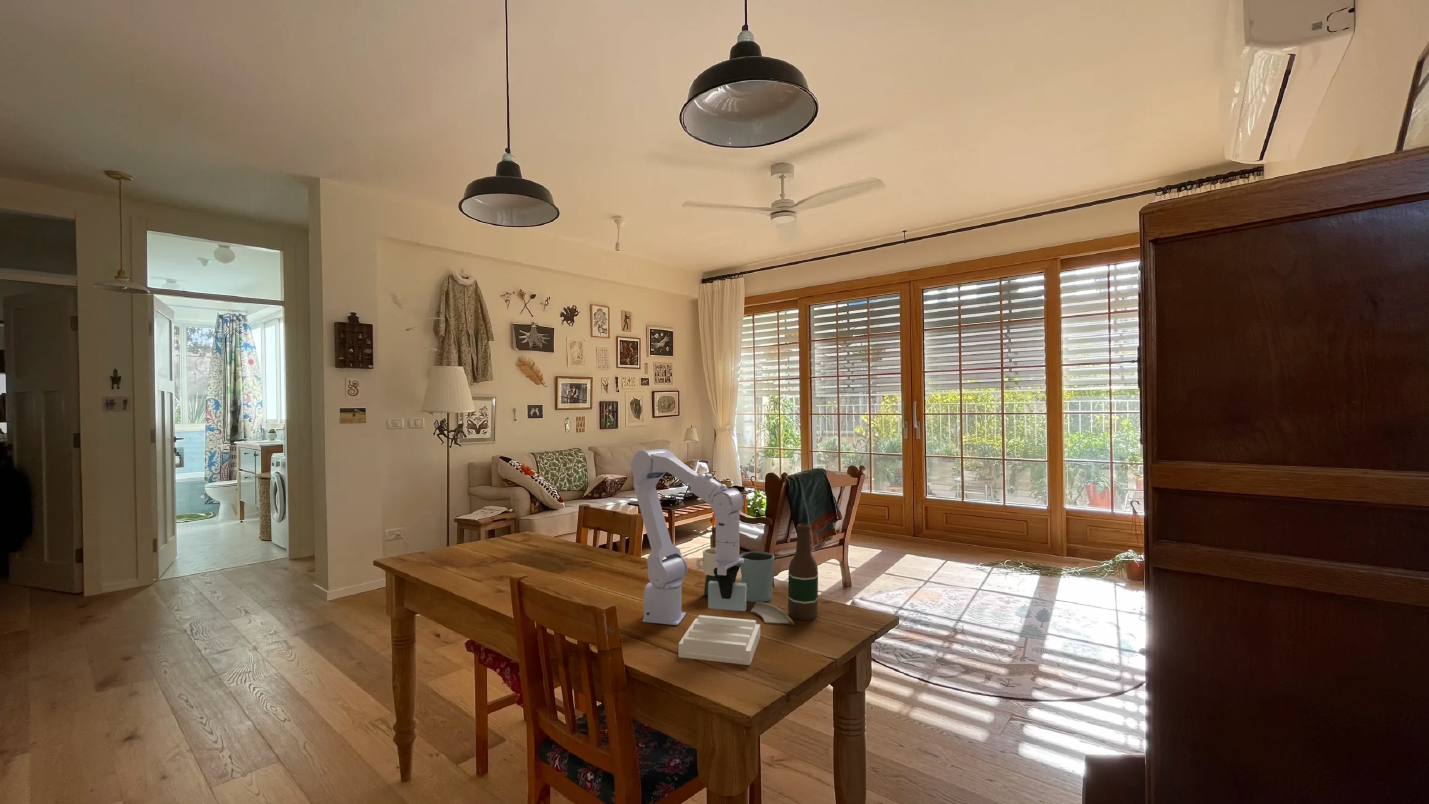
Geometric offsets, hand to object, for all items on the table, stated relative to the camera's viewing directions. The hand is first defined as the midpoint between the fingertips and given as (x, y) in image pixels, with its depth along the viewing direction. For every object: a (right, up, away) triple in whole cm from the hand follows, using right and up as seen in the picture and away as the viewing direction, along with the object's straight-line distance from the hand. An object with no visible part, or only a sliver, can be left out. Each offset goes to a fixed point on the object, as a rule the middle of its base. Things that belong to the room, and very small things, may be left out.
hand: (727, 596), depth 137 cm
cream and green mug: (-3, -10, +28) cm, 30 cm away
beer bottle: (+20, -10, +14) cm, 26 cm away
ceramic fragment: (+12, -10, +11) cm, 19 cm away
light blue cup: (+9, -10, +27) cm, 30 cm away
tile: (0, -3, 0) cm, 3 cm away
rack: (-2, -10, -6) cm, 11 cm away
